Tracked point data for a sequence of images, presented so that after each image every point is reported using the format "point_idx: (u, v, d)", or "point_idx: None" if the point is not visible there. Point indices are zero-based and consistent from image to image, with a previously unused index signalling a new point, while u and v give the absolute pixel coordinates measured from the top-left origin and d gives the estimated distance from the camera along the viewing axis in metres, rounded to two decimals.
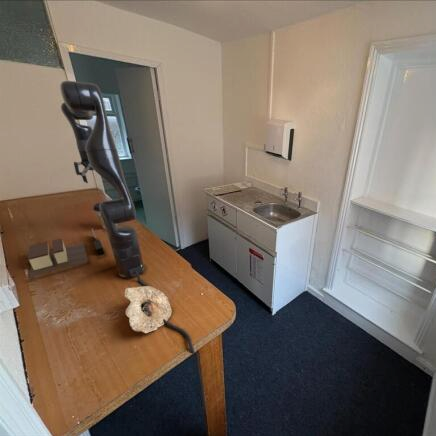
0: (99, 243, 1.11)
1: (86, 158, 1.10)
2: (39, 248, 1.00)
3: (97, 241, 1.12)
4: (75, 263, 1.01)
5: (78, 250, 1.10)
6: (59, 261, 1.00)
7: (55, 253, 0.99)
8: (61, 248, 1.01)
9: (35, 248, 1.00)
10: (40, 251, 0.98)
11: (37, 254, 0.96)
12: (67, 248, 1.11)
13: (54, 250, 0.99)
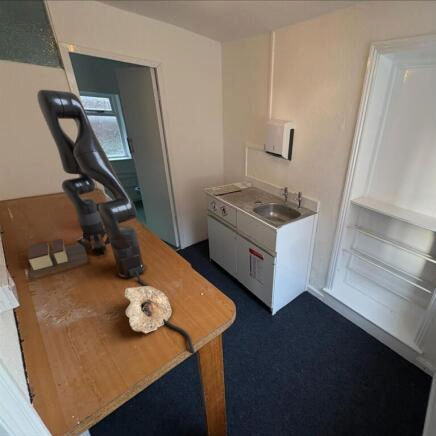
0: (99, 243, 1.11)
1: (88, 232, 1.03)
2: (39, 248, 1.00)
3: (97, 241, 1.12)
4: (75, 263, 1.01)
5: (78, 250, 1.10)
6: (59, 261, 1.00)
7: (55, 253, 0.99)
8: (61, 248, 1.01)
9: (35, 248, 1.00)
10: (40, 251, 0.98)
11: (37, 254, 0.96)
12: (67, 248, 1.11)
13: (54, 250, 0.99)
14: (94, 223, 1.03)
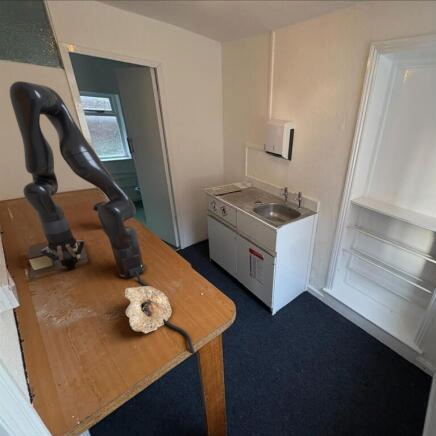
0: (69, 253, 0.98)
1: (53, 242, 0.91)
2: (39, 248, 1.00)
3: (67, 251, 1.00)
4: None
5: None
6: None
7: None
8: (74, 245, 1.04)
9: (35, 248, 1.00)
10: (40, 251, 0.98)
11: (37, 254, 0.96)
12: None
13: None
14: (60, 231, 0.91)
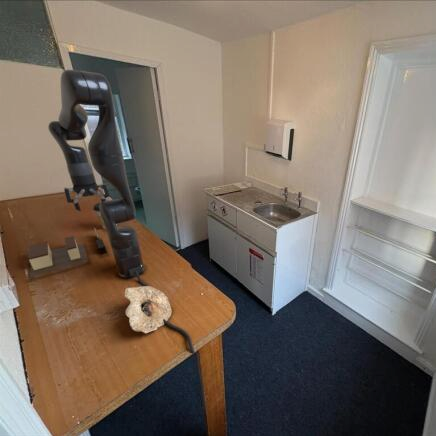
0: (101, 242, 1.11)
1: (78, 184, 0.95)
2: (39, 248, 1.00)
3: (99, 240, 1.13)
4: (75, 263, 1.01)
5: None
6: (72, 257, 1.03)
7: (69, 250, 1.01)
8: (74, 245, 1.04)
9: (35, 248, 1.00)
10: (40, 251, 0.98)
11: (37, 254, 0.96)
12: None
13: (67, 247, 1.02)
14: (85, 174, 0.95)
